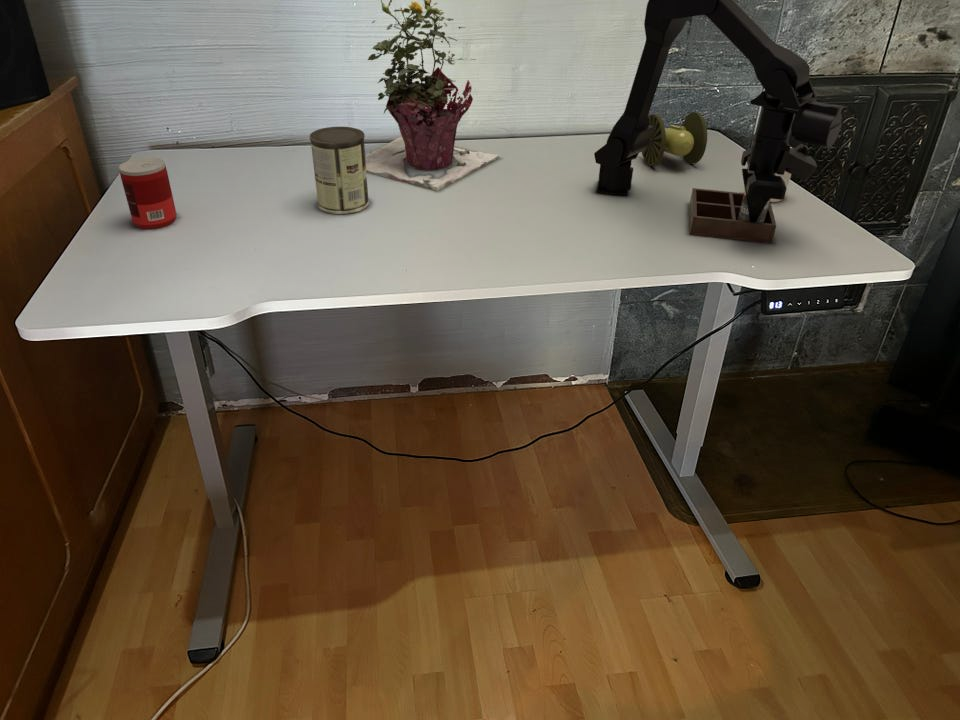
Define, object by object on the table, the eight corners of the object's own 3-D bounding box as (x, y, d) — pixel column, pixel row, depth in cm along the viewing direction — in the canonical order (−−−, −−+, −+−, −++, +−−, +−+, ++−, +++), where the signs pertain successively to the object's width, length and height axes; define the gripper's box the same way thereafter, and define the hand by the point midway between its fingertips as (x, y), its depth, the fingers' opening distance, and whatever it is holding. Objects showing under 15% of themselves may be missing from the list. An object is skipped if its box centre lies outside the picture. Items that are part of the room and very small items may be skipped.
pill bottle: (733, 219, 143) (743, 177, 138) (757, 218, 143) (767, 177, 139) (742, 229, 139) (753, 186, 134) (767, 229, 140) (778, 186, 135)
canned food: (186, 215, 143) (173, 160, 137) (158, 232, 137) (144, 174, 131) (152, 209, 145) (139, 154, 139) (124, 226, 139) (108, 168, 133)
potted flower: (498, 158, 173) (504, -8, 154) (437, 190, 156) (435, 9, 136) (407, 136, 185) (401, -21, 165) (341, 164, 168) (325, -7, 148)
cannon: (615, 139, 186) (621, 93, 180) (659, 137, 189) (666, 91, 182) (657, 175, 166) (665, 124, 160) (706, 172, 169) (716, 121, 162)
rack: (689, 234, 141) (693, 216, 139) (689, 204, 153) (692, 187, 151) (771, 243, 138) (776, 225, 136) (764, 212, 150) (769, 195, 148)
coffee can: (336, 191, 155) (329, 123, 147) (378, 200, 152) (374, 131, 144) (306, 208, 147) (298, 137, 139) (350, 218, 144) (344, 146, 136)
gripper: (828, 156, 123) (802, 242, 132) (813, 122, 138) (790, 202, 147) (758, 149, 125) (737, 235, 133) (750, 117, 140) (732, 196, 148)
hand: (751, 216), depth 140 cm, fingers closed on pill bottle, 5 cm apart
